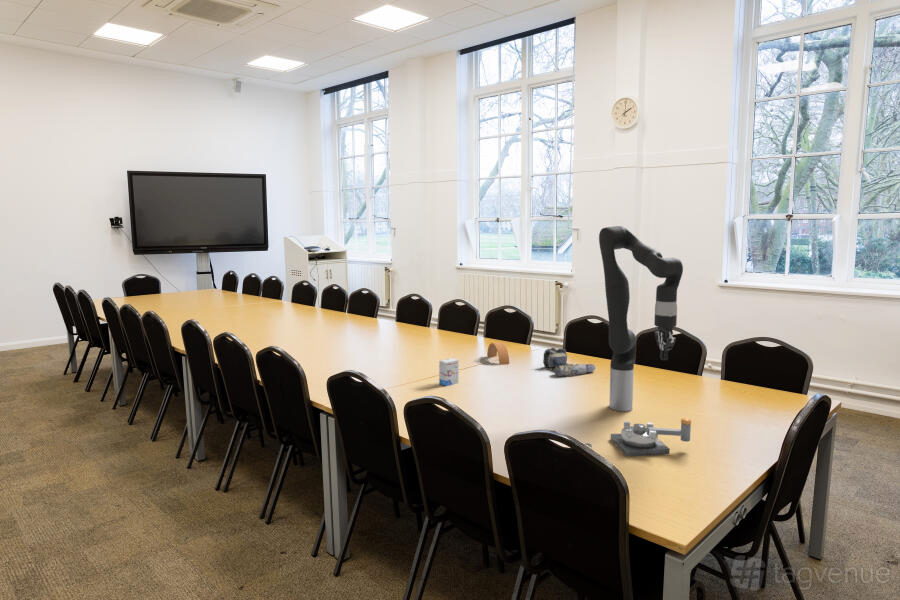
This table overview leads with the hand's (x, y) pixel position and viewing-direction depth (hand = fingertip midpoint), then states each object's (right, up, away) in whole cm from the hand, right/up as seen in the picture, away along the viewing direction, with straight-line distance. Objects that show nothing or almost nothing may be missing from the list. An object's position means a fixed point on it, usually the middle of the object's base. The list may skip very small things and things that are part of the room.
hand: (663, 359), depth 212 cm
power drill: (-19, -16, +88) cm, 91 cm away
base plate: (-13, -29, -11) cm, 33 cm away
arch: (-51, -12, +113) cm, 125 cm away
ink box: (-79, -19, +69) cm, 106 cm away
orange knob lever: (-8, -27, -12) cm, 31 cm away
